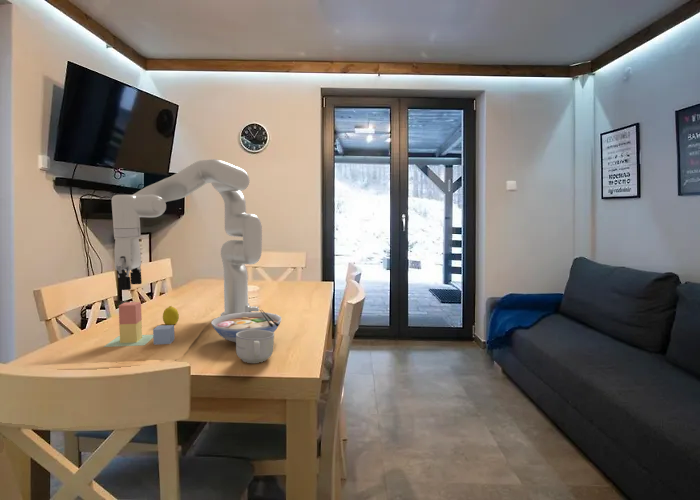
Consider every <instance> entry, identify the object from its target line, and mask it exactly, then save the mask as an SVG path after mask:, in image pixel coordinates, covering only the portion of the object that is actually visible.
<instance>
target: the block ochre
mask: <svg viewBox="0 0 700 500" xmlns="http://www.w3.org/2000/svg"><path fill="white" fill-rule="evenodd" d="M142 322H143V321H142V320H141V321H139V322H138V323H137V324H118V326H119V336H120V343H132V342H138V341H139V340H140V339H141V338H142V335H143V329H142V327H143V326H142Z"/></svg>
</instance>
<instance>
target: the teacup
mask: <svg viewBox="0 0 700 500" xmlns="http://www.w3.org/2000/svg"><path fill="white" fill-rule="evenodd" d="M274 339H275V332H274V333H273V332H271V331H267V330H245V331H240V332H238V333H236V342H235V352H236V355H237V358H239V359H240V360H241V361H242V362H244V363H246V362H247V364H260V363H259V362H261V363H263V361H264V362H266V361H267V360H268V359H270V357H271V356H272V355H273V352H274V342H275V341H274Z"/></svg>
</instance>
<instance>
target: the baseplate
mask: <svg viewBox="0 0 700 500" xmlns="http://www.w3.org/2000/svg"><path fill="white" fill-rule="evenodd" d="M152 339H153V334H142V338H141V339H140V340H139V341H138V342H132V343H120V335H118V336H117V337H115V338H114V339H112V340H111V341H109V342H108V343H107V344H105V345H104V346H103V348H106V347H107V348H109V347H110V348H111V347H112V348H113V347H136V346H137V347H138V346H146V345H148V343H149V342H150V341H151V340H152Z"/></svg>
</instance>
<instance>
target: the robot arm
mask: <svg viewBox="0 0 700 500" xmlns="http://www.w3.org/2000/svg"><path fill="white" fill-rule="evenodd" d="M206 184H211V186H212V187H213V188H214V189H215V191H217V192H218V194H220V195H219V196H221V198H222V200H223V204H224V206H223V207H224V231H225V233H226V235H228V236H230V237H234V238H235V237H237V238H242V239H241V240H239V239H231V240H228V241H227V240H226V241H225V242H224V243H223V244H222V246H221V248H220V257H221V258H220V259H221V262H222V266H223V267H222V268H223V297H224V298H223V299H224V300H223V302H224V303H223V304H224V307H223V308H224V311H222V312H221V313H220V316H224V315H228V314H234V313H242V312H260V310H259V309H260V306H256V305H253V306H251V305H250V303H249V295H248V294H249V293H248V292H249V288H248V286H249V284H248V281H249V280H248V277H249V275H248V270H247V267H246V265H255V264H257V263H259V262H260V259H261V257H262V251H263V225H262V222H261V220H260V218H259V217H258V216H257V215H256V214H254V213H247V202H246V197H245V196H244V194H243V192H242V191H244V190H246V189H248V187H249V185H250V177H249V175H248V173H247V172H246V170H244V169H243V168H241V167H239V166H235V165H233V164H231V163H229V162H226V161H224V160H220V159H217V158H211V159H202V160H197V161H194V162H193V163H191V164H190V165H187V166H186V167H184V168H183V169H181V170H180V171H178V172H176V173H174V174H173V175H171V176H169V177H165V178H163V179H161V180H159V181H156V182H155V183H151V184H149V185H147V186H145V187H143V188H141V189H140V190H138V191H136V192H135V193H133V194H115V195H113V196H112V197H111V211H112V223H113V224H112V226H113V237H114V238H113V239H114V240H115V241H114V269H115V270H116V271H117V277H118V288H119V289H118V290H120V291H130V290H131V289H132V287H131V285H141V284H142V282H143V281H142V268H141V267H142V254H141V253H142V252H141V246H140V238H142V237H141V220H140V218H157V217H160V216H162V215H163V214H164V213H165V211H166V210H167V204H166V203H167V202H172V201H177V200H180V199H183V198H186V197H189V196H190V195H191V194H192V193H195V191H197V190H199V189H200V188H202V187H203V186H205V185H206Z"/></svg>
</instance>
